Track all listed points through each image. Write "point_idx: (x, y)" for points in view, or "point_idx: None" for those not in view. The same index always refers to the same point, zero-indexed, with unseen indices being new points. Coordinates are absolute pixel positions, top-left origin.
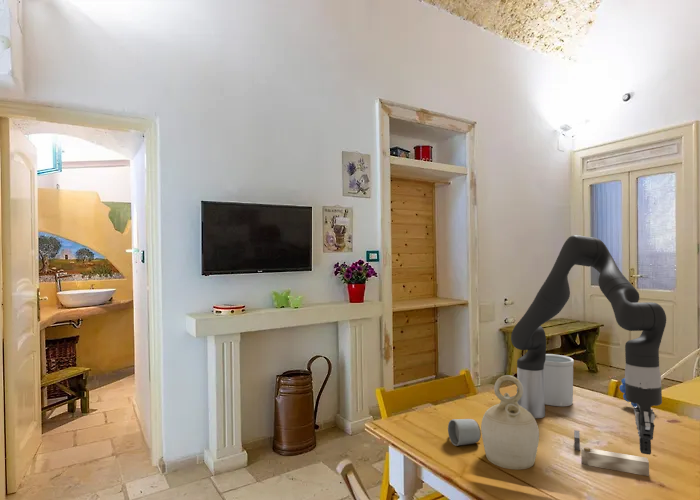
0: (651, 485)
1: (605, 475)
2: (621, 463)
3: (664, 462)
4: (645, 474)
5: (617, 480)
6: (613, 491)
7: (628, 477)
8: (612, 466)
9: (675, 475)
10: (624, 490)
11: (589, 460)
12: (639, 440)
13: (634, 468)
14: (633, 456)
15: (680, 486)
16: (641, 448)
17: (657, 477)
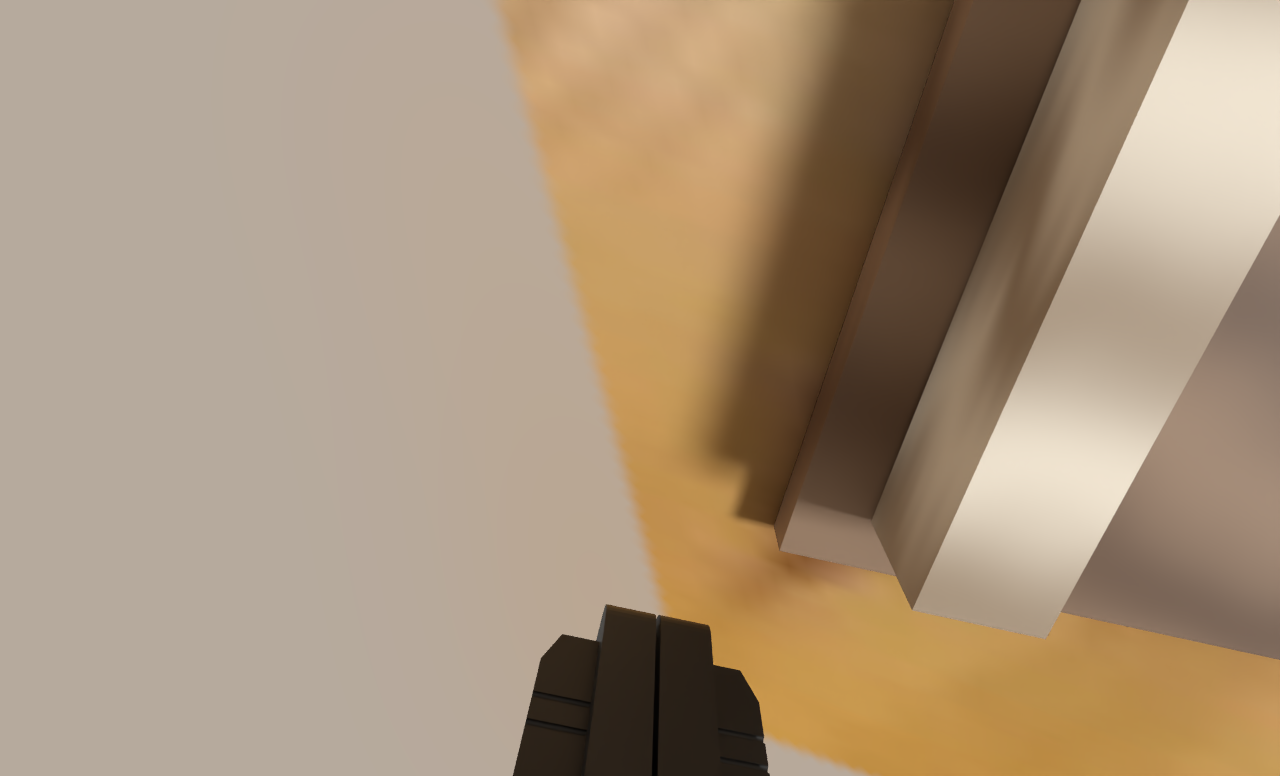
0: (783, 484)
1: None
2: (997, 325)
3: (1240, 737)
4: (886, 501)
5: (840, 210)
6: (580, 86)
7: None
8: (1011, 214)
9: (992, 717)
10: (631, 210)
11: None
12: (707, 774)
13: (934, 436)
14: (1082, 511)
15: (802, 676)
16: (595, 664)
17: None
